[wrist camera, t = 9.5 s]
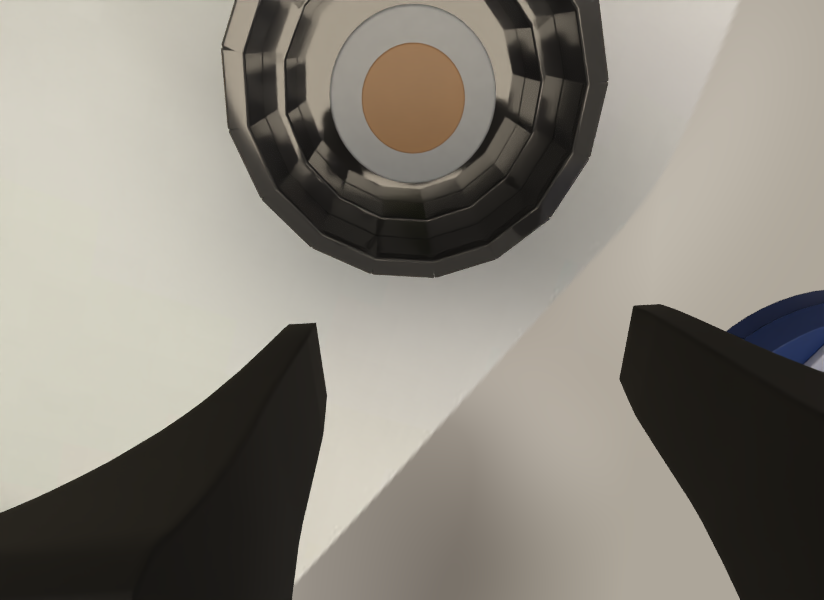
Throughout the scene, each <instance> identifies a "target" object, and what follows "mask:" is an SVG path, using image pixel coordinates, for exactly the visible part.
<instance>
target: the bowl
mask: <svg viewBox="0 0 824 600" xmlns="http://www.w3.org/2000/svg"><path fill="white" fill-rule="evenodd" d="M403 4H424V5H429V6H434V7H437V8H440V9H443V10H445V11H447V12H449V13H451V14H453V15H455V16H456V17H457V18H459V19H460V20H462V21H463V22H464V23H465V24H466V25H467V26H468V27H469V28H471V29H472V30H473V32H474V33H475V34H476V35H477V37H478V38H479V39H480V41H481V42H482V44H483V46H484V47H485V49H486V51H487V53H488V56H489V58H490V60H491V64H492V67H493V71H494V76H495V82H496V103H495V110H494V115H493V119H492V122H491V125H490V128H489V130H488V133H487V135H486V137H485V139H484V140H483V142H482V144H481V145H480V147H479V148H478V150H477V151H476V152H475V153H474V154H473V156H472V157H471V158H470V159H469V160H468V161H467V162H466V163H464V164H463V165H462V166H461V167H459V168H458V169H457V170H455V171H453V172H452V173H450V174H448V175H446V176H444V177H441V178H439V179H436V180H432V181H428V182H421V183H404V182H397V181H393V180H389V179H386V178H384V177H381V176H379V175H377V174H375V173H373V172H372V171H370V170H368V169H367V168H366V167H364V166H363V165H362V164H360V163H359V162H358V161H357V160H356V159H355V158H354V157H353V156H352V154H351V153H350V152H349V151H348V149H347V148H346V147H345V145H344V143H343V142H342V140H341V138H340V136H339V134H338V132H337V130H336V127H335V124H334V121H333V118H332V113H331V107H330V94H329V93H330V80H331V75H332V70H333V67H334V64H335V61H336V58H337V56H338V54H339V52H340V49H341V47H342V46H343V44H344V43H345V41H346V40H347V38H348V37H349V36H350V34H351V33H352V32H353V31H354V30H355V29H356V28H357V27H358V26H359V25H360V24H361V23H362V22H363V21H365V20H366V19H367V18H369V17H371V16H372V15H374V14H375V13H377V12H380V11H382V10H384V9H386V8H390V7H393V6H396V5H403ZM221 55H222V66H223V78H224V89H225V101H226V113H227V124H228V129H230V130H229V133H230V135H231V137H232V139H233V141H234V143H235V146H236V148H237V150H238V152H239V154H240V156H241V158H242V160H243V162H244V164H245V166H246V169H247V171H248V173H249V175H250V177H251V179H252V181H253V183H254V185H255V187H256V190H257V192H258V194H259V196H260V197H261V198H262V200H263V202H264V203H266V204H267V205H268V206H269V207H270V208H271V209H272V210H273V211H274V212H275V213H276V214H277V215H278V216H279V217H280V218H281V219H282V220H283V221H284V222H285V223H286V224H287V225H288V226H289V227H290V228H291V229H292V230H293V231H294V232H295V233H296V234H297V235H298V236H300V237H301V238H302V239H303V240H304V241H305V242H306V243H307V244H308V245H309V246H310V247H312V248H313V249H315V250H317V251H320V252H322V253H324V254H326V255H329V256H331V257H333V258H336V259H338V260H340V261H342V262H345V263H347V264H349V265H351V266H354V267H356V268H358V269H361V270H363V271H365V272H367V273H370V274H371V273H372V274H375V275H392V276H410V277H428V278H434V277H440V276H443V275H446V274H450V273H453V272H456V271H459V270H463V269H466V268H469V267H472V266H476V265H479V264H482V263H486V262H489V261H492V260H495V259H497V258H499V257H500V256H501V255H503V254H504V253H505V252H507V251H508V250H509V249H511V248H512V247H513V246H515V245H516V244H517V243H519V242H520V241H521V240H523V239H524V238H525V237H527V236H528V235H529V234H531V233H532V232H533V231H535V230H536V229H537V228H539V227H540V226H541V225H543V224H544V223H545V222H547V221H548V220H549V219H550V218H549V217H551V216H552V215H553V213H554V212H555V210H556V209H557V207H558V206H559V204H560V203H561V201H562V200H563V198H564V197H565V195H566V194H567V192H568V190H569V189H570V187H571V186H572V184H573V183H574V181H575V180H576V178H577V177H578V175H579V174H580V172H581V171H582V169H583V168H584V166H585V165H586V163H587V162H588V160H589V158H588V157H590V156H591V152H592V147H593V143H594V139H595V135H596V131H597V127H598V123H599V119H600V115H601V111H602V107H603V102H604V98H605V94H606V90H607V86H608V82H607V81H608V71H607V63H606V54H605V46H604V38H603V29H602V21H601V13H600V4H599V0H235V2H234V5H233V8H232V11H231V15H230V18H229V21H228V25H227V28H226V31H225V35H224V38H223V41H222V49H221Z"/></svg>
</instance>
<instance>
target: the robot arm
mask: <svg viewBox="0 0 824 600" xmlns="http://www.w3.org/2000/svg"><path fill="white" fill-rule="evenodd" d="M620 382H621V384H622V386H623V389H624V391H625V393H626V396H627V398H628V400H629V402H630V405H631V407H632V409H633V411H634V413H635V415H636V417H637V419H638V420H639V422H640V423H641V425H642V427H643V428H644V430H645V432H646V433H647V435H648V436H649V438H650V439H651V441H652V443H653V444H654V446H655V447H656V449H657V450H658V452H659V454H660V455H661V457H662V458H663V459H664V461H665V463H666V464H667V466H668V467H669V469H670V471H671V472H672V474H673V475H674V477H675V478H676V480H677V481H678V483H679V484H680V486H681V488H682V489H683V491H684V492H685V493H686V495H687V497H688V498H689V500H690V502H691V503H692V505H693V507H694V509H695V510H696V512H697V514H698V515H699V517H700V519H701V521H702V522H703V524H704V526H705V528H706V530H707V532H708V534H709V536H710V538H711V540H712V542H713V544H714V546H715V548H716V550H717V552H718V554H719V556H720V558H721V560H722V562H723V564H724V566H725V568H726V570H727V572H728V574H729V577H730V579H731V581H732V583H733V585H734V587H735V589H736V591H737V594H738V596H739V598H740V600H824V345H823V346H822V347H821V348H820V349H819V350H818V351H817V352H816V353H815V354H814V355H813V356H812V357H811V358H810V359H809V360H808V361H807V362H805V363H804V364H801V363H798V362H796V361H793V360H791V359H788V358H786V357H783V356H781V355H778V354H776V353H774V352H771V351H769V350H766V349H764V348H762V347H759V346H757V345H755V344H753V343H750V342H748V341H746V340H744V339H741V338H739V337H737V336H735V335H732V334H730V333H728V332H726V331H723V330H721V329H719V328H717V327H715V326H712V325H710V324H708V323H706V322H704V321H701V320H699V319H697V318H694V317H692V316H690V315H688V314H685V313H683V312H681V311H678V310H675V309H673V308H670V307H667V306H664V305H661V304H657V305H638V306H634V307H633V311H632V316H631V321H630V327H629V331H628V337H627V342H626V347H625V353H624V358H623V363H622V368H621V373H620ZM326 400H327V393H326V387H325V380H324V373H323V367H322V360H321V354H320V347H319V340H318V334H317V327H316V323H307V324H289V325H288V326H287V327H285V328H284V329H283V330H282V331H281V332H280V333H279V334H278V335H277V336H276V337H275V338H274V339H273V340H272V341H271V342H270V343H269V344H268V345H267V346H266V347H265V348H264V349H263V350H261V351H260V352H259V353H258V354H257V355H256V356H255V357H254V358H253V359H252V360H251V361H250V362H249V363H248V364H247V365H245V366H244V367H243V368H242V369H241V370H240V371H239V372H238V373H237V374H235V375H234V376H233V377H232V378H231V379H229V380H228V381H227V382H226V383H225V384H223V385H222V386H221V387H220V388H219V389H218V390H216V391H215V392H214V393H213V394H212V395H210V396H209V397H208V398H207V399H205V400H204V401H203V402H202V403H200V404H199V405H198V406H196V407H195V408H193V409H192V410H191V411H189V412H188V413H187V414H185V415H184V416H182V417H181V418H179V419H178V420H176V421H175V422H174V423H172V424H171V425H169V426H168V427H166V428H165V429H163V430H162V431H160V432H159V433H157V434H155V435H154V436H152V437H150V438H148V439H147V440H145V441H143V442H142V443H140V444H138V445H137V446H135V447H133V448H132V449H130V450H128V451H127V452H125V453H123V454H121V455H120V456H118V457H116V458H115V459H113V460H111V461H109V462H107V463H106V464H104V465H102V466H100V467H98V468H96V469H94V470H92V471H90V472H88V473H87V474H85V475H83V476H81V477H79V478H77V479H75V480H73V481H70V482H68V483H66V484H64V485H62V486H60V487H58V488H56V489H54V490H52V491H50V492H48V493H45V494H43V495H41V496H39V497H37V498H35V499H32V500H30V501H28V502H25V503H23V504H21V505H18V506H16V507H14V508H11V509H9V510H7V511H4V512H2V513H0V600H292V593H293V585H294V578H295V570H296V562H297V554H298V546H299V540H300V535H301V530H302V524H303V520H304V515H305V511H306V507H307V503H308V498H309V494H310V490H311V485H312V481H313V477H314V473H315V468H316V464H317V460H318V455H319V451H320V447H321V442H322V437H323V432H324V422H325V412H326Z"/></svg>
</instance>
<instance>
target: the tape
mask: <svg viewBox="0 0 824 600" xmlns="http://www.w3.org/2000/svg"><path fill="white" fill-rule="evenodd" d="M329 94H330V107H331V113H332V118H333V121H334V124H335V127H336V130H337V132H338V134H339V136H340V138H341V140H342V142H343V143H344V145H345V147H346V148H347V149H348V151H349V152H350V153H351V154H352V156H353V157H354V158H355V159H356V160H357V161H358V162H359V163H360V164H362V165H363V166H364V167H366V168H367V169H368V170H370V171H372V172H373V173H375V174H377V175H379V176H381V177H384V178H386V179H389V180H393V181H397V182H404V183H421V182H428V181H432V180H436V179H439V178H441V177H444V176H446V175H448V174H450V173H452V172H453V171H455V170H457V169H458V168H459V167H461V166H462V165H463V164H464V163H466V162H467V161H468V160H469V159H470V158H471V157H472V156H473V154H474V153H475V152H476V151H477V150H478V148H479V147H480V145H481V144H482V142H483V140H484V139H485V137H486V135H487V133H488V130H489V128H490V125H491V122H492V119H493V115H494V110H495V103H496V82H495V76H494V71H493V67H492V64H491V60H490V58H489V56H488V53H487V51H486V49H485V47H484V46H483V44H482V42H481V41H480V39H479V38H478V37H477V35H476V34H475V33H474V32H473V30H472V29H471V28H469V27H468V26H467V25H466V24H465V23H464V22H463V21H462V20H460V19H459V18H457V17H456V16H455V15H453V14H451V13H449V12H447V11H445V10H443V9H440V8H437V7H434V6H429V5H424V4H403V5H396V6H393V7H390V8H386V9H384V10H382V11H380V12H377V13H375V14H374V15H372V16H371V17H369V18H367V19H366V20H365V21H363V22H362V23H361V24H360V25H359V26H358V27H357V28H356V29H355V30H354V31H353V32H352V33H351V34H350V36H349V37H348V38H347V40H346V41H345V43H344V44H343V46H342V47H341V49H340V52H339V54H338V56H337V58H336V61H335V64H334V67H333V70H332V75H331V80H330V93H329Z"/></svg>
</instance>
